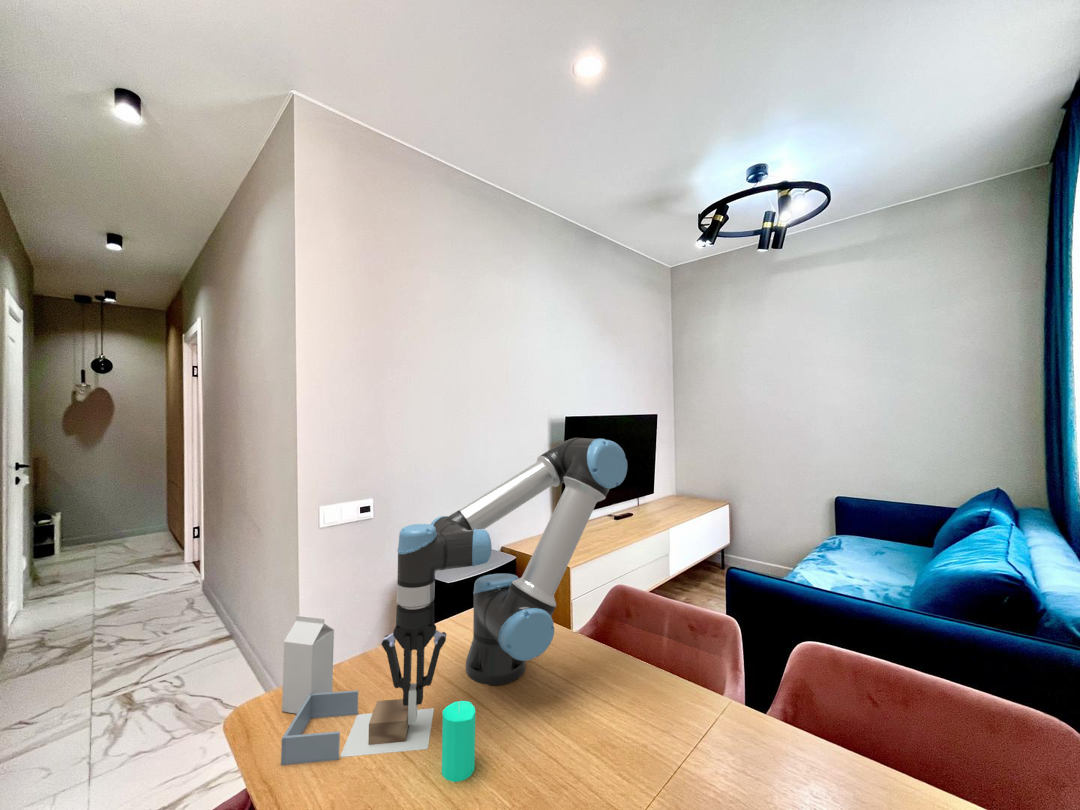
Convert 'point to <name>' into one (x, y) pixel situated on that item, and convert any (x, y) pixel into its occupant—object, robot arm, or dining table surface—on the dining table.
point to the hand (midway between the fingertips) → (412, 719)
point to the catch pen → (317, 744)
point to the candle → (458, 741)
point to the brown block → (388, 722)
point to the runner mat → (414, 741)
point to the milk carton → (307, 662)
